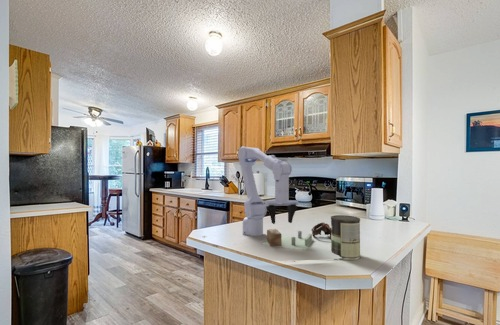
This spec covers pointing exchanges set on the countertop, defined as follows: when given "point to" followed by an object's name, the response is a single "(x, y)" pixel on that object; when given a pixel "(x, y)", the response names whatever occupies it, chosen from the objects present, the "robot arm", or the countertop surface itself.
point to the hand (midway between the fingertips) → (281, 222)
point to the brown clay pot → (321, 229)
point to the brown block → (274, 237)
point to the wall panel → (289, 241)
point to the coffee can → (345, 237)
